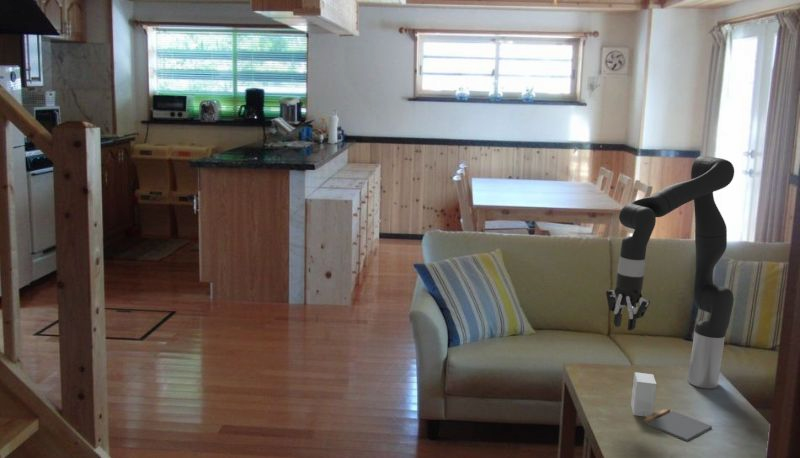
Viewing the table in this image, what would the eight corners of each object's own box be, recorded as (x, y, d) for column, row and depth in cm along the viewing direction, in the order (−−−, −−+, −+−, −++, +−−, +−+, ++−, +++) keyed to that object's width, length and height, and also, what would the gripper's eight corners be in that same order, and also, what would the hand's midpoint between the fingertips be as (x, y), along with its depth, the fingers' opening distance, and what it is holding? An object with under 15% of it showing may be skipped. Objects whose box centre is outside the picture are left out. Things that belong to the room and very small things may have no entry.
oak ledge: (666, 411, 227) (666, 407, 227) (669, 413, 226) (670, 409, 226) (644, 421, 219) (644, 418, 219) (648, 423, 218) (648, 419, 218)
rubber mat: (672, 412, 227) (673, 410, 226) (711, 427, 218) (711, 426, 218) (647, 424, 217) (647, 422, 217) (686, 441, 209) (687, 439, 209)
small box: (652, 418, 222) (657, 384, 220) (632, 415, 223) (637, 381, 221) (649, 407, 230) (653, 374, 228) (630, 404, 231) (634, 371, 229)
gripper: (659, 276, 222) (652, 332, 226) (616, 265, 233) (610, 319, 236) (645, 279, 217) (638, 337, 221) (602, 268, 228) (596, 323, 231)
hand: (623, 327), depth 228 cm, fingers open, 3 cm apart
